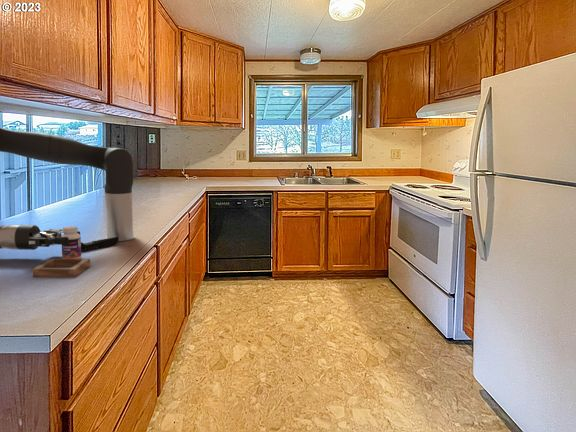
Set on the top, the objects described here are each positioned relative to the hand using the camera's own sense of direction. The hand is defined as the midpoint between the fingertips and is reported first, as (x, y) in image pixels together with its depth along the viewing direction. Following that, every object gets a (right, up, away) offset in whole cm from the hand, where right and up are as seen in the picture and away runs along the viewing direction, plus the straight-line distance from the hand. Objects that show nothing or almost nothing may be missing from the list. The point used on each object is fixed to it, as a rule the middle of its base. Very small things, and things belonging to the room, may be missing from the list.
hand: (74, 237), depth 141 cm
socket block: (+3, -9, -12) cm, 15 cm away
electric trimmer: (+1, -5, +15) cm, 16 cm away
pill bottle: (-1, -7, +1) cm, 7 cm away
